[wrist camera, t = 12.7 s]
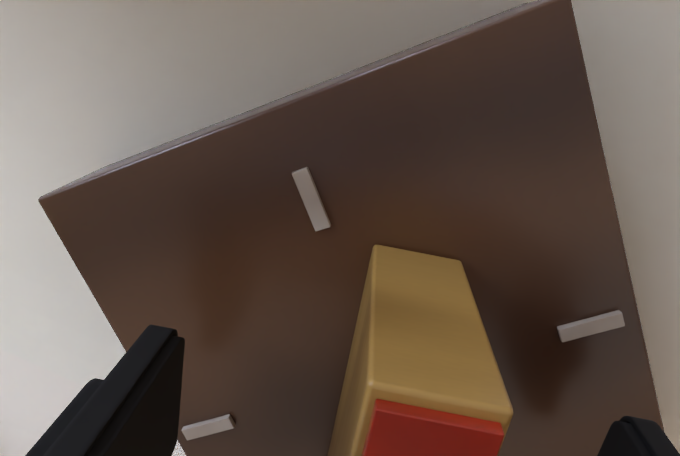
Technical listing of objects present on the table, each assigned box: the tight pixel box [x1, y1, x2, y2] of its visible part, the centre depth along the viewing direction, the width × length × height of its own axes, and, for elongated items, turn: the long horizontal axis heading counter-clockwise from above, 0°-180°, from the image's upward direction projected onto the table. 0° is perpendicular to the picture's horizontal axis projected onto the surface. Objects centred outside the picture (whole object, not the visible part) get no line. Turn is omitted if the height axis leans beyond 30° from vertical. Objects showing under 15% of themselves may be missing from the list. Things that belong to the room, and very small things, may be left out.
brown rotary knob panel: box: [38, 0, 664, 456], centre depth 14 cm, size 14×12×3 cm
